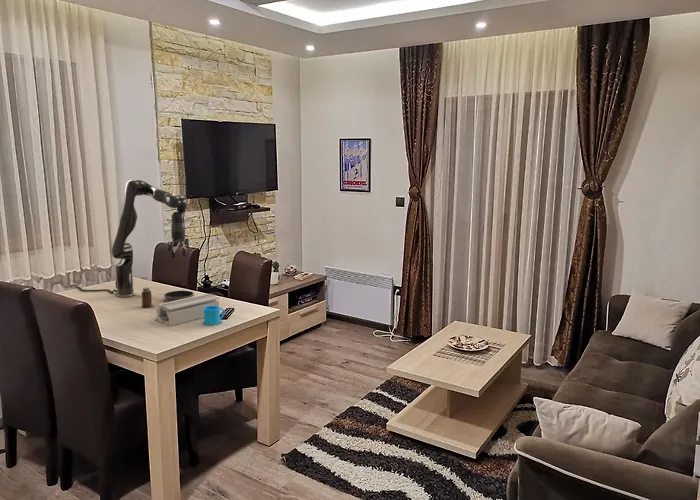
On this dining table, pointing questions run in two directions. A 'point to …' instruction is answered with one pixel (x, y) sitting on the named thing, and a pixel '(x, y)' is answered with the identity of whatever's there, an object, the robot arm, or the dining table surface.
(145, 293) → the pepper mill
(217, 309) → the mug
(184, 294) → the pan
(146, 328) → the dining table surface
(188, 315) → the aluminum extrusion profile
